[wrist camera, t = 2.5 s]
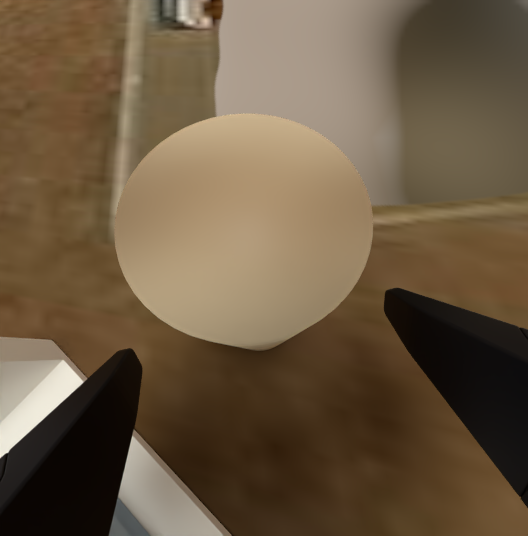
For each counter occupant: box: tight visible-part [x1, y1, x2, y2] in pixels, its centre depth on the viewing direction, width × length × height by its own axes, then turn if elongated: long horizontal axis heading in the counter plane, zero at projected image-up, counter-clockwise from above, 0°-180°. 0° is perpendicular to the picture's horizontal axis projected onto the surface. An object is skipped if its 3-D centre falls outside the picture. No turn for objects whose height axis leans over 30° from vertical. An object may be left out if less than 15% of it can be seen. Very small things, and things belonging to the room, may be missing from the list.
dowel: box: [114, 114, 373, 351], centre depth 12 cm, size 5×5×14 cm
